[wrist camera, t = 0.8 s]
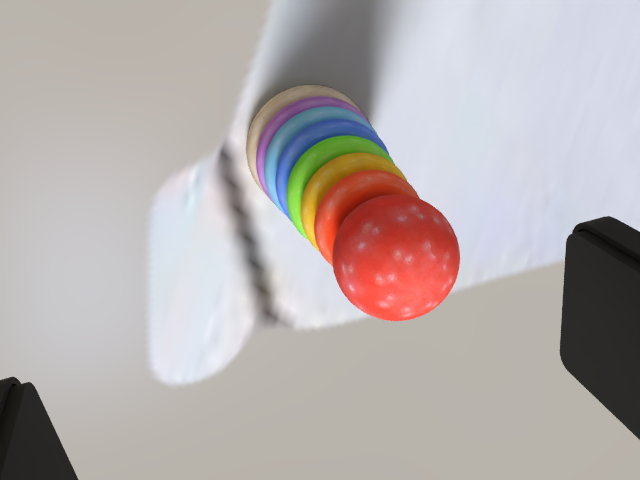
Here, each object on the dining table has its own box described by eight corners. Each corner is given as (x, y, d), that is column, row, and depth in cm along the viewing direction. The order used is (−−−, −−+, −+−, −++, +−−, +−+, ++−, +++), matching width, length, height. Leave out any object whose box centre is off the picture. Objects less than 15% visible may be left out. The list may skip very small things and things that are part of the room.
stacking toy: (294, 55, 35) (428, 131, 19) (387, 130, 39) (566, 249, 23) (218, 160, 37) (282, 316, 20) (315, 223, 40) (435, 399, 24)
